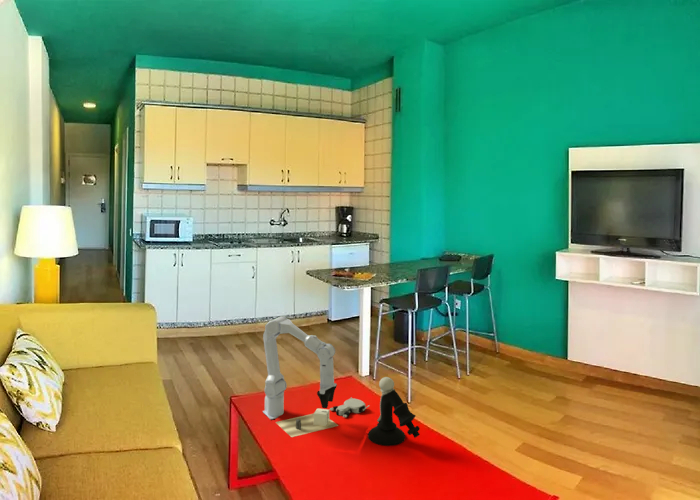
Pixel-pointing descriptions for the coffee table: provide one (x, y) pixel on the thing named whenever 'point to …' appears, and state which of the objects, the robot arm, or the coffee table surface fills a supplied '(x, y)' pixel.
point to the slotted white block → (321, 417)
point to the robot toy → (350, 407)
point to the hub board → (302, 425)
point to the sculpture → (386, 428)
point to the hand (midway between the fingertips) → (327, 404)
